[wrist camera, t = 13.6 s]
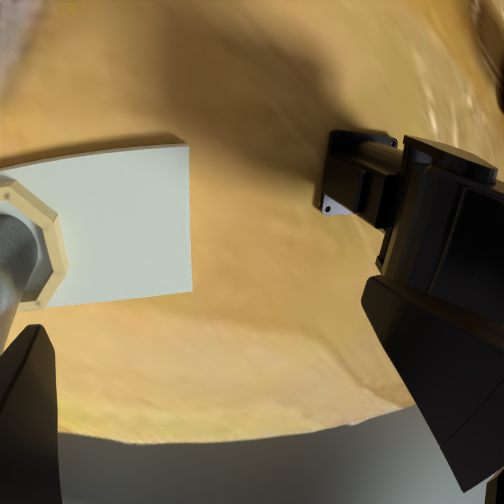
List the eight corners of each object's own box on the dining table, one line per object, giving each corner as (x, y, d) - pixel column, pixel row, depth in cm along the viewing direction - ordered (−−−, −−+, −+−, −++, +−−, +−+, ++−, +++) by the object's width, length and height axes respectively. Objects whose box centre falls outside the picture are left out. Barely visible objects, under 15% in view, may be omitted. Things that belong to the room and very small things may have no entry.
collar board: (186, 143, 17) (192, 150, 15) (189, 281, 22) (195, 301, 20) (-48, 181, 12) (-65, 193, 10) (-11, 302, 17) (-20, 322, 15)
